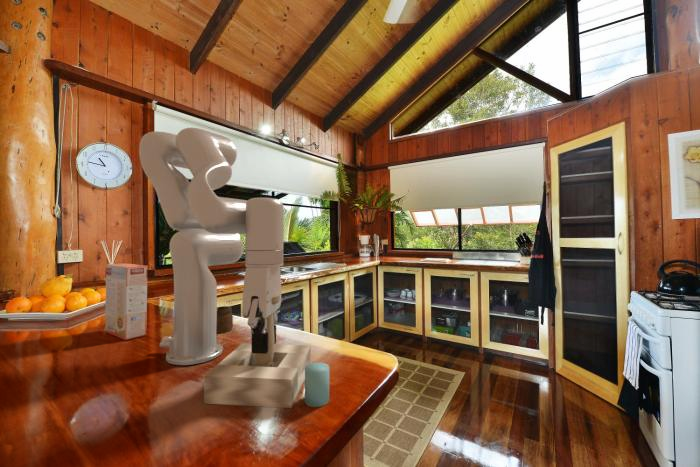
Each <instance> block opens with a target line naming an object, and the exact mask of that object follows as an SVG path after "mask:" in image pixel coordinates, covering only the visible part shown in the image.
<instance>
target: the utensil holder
mask: <svg viewBox="0 0 700 467" xmlns="http://www.w3.org/2000/svg"><path fill="white" fill-rule="evenodd" d="M226 298H227V299H226ZM228 298H230V295H227V296H225V297H224V299H226V300H224V301H223V302H224V303H225V302H226V303H225V304H227V302H228ZM230 302H231V303H230ZM228 303H230V304H228V306H227V305H223V306H217V324H216V334H223V333H228V332H230V331H232V330H233V326H234V322H233V321H234V315H233V313H232V310H233V309H232V306H230V305H232V303H233V302H232V301H231V300H229V302H228Z"/></svg>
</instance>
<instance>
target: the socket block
mask: <svg viewBox="0 0 700 467" xmlns="http://www.w3.org/2000/svg"><path fill="white" fill-rule="evenodd" d="M272 362H273V366H272V367H260V366H256V358H255V353H252V342H251V343H249V342H242V343H241V344H239V346H238V347H236V348H235V349H234V350H233V351H232V352H230V353H229V354H228V355H227V356H225V357H224V358H223V359H222V360H221V361H220V362H219V363H217V364H216V365H215V366H214V367H213V368H211V369H210V370H209V371H207V372H206V374H204V377H203V383H204V384H203V387H204V388H203V403H204V404H206V405H207V404H209V405H210V404H211V405H229V406H230V405H231V406H247V407H263V408H264V407H265V408H282V409H283V408H284V409H292V408H293V406H294V403H295V401H296V399H297V397H298V395H299V392H300V390H301V389H302V386H303V383H305V367H306V366H307V365H308V364H311V345H303V344H302V345H301V344H298V345H297V344H279V343H278V344H277V343H275V344H274V356H273V360H272Z"/></svg>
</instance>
